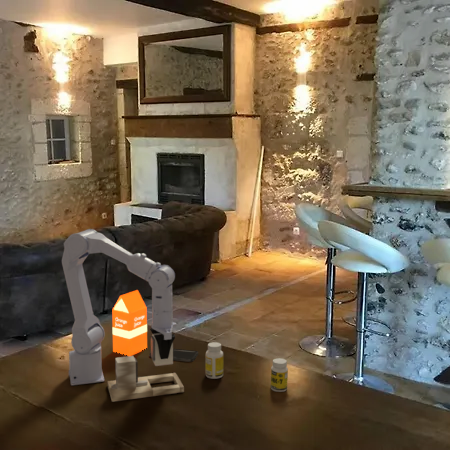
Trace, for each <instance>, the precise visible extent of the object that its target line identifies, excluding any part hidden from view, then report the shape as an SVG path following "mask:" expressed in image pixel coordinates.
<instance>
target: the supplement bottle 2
mask: <svg viewBox="0 0 450 450" xmlns="http://www.w3.org/2000/svg"><path fill="white" fill-rule="evenodd" d="M287 366H288V363H287V359H285V358H282V357H281V358H280V357H278V358H274V359H273V360H272V366H271V367H270V389H271V391H273V392H278V393H281V392H286V391H287V390H288V379H289V377H288V376H289V369H288V367H287Z"/></svg>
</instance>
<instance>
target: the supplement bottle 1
mask: <svg viewBox="0 0 450 450" xmlns="http://www.w3.org/2000/svg"><path fill="white" fill-rule="evenodd" d="M205 376H206V377H207V378H208V379H214V380H215V379H217V380H218V379H220V378H222V377H223V376H224V351H222V344H221V343H220V342H216V341H213V342H209V343H208V344H207V350H206V352H205Z"/></svg>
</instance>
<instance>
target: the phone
mask: <svg viewBox="0 0 450 450" xmlns="http://www.w3.org/2000/svg"><path fill="white" fill-rule="evenodd" d="M198 355H199V351H197V350H191V349H182V348H181V349H180V348H173V361H177V362H187V363H188V362H189V363H191V362H194V361H195V360H196V358H197V357H198ZM149 358H150V359H152V358H151V352H150V353H149Z"/></svg>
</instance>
